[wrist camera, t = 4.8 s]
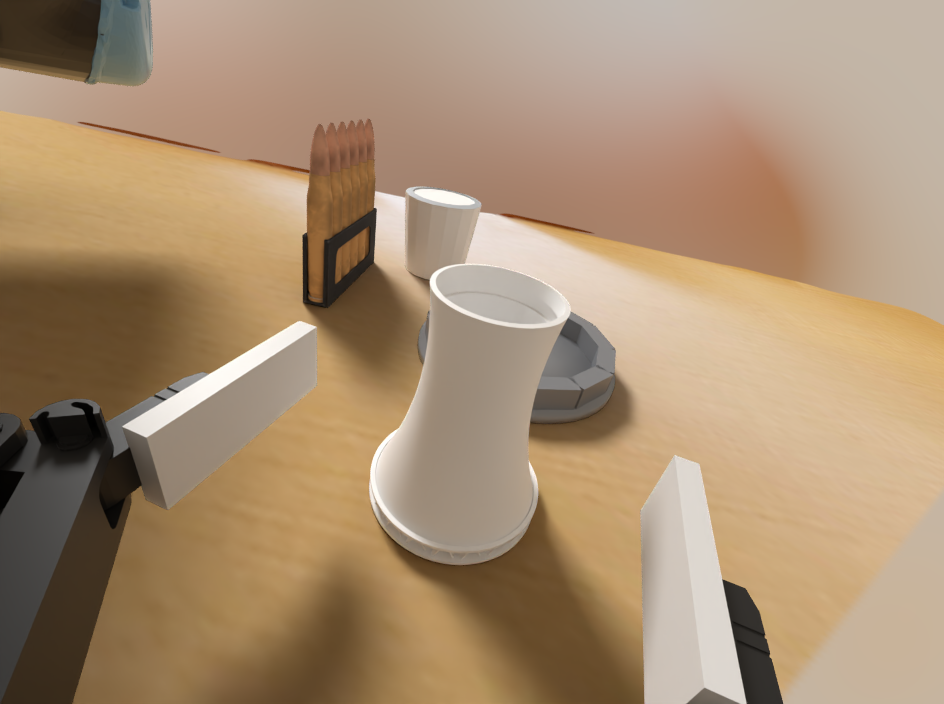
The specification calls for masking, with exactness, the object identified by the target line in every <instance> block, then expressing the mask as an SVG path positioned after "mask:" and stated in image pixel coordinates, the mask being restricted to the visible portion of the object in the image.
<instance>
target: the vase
mask: <svg viewBox="0 0 944 704" xmlns="http://www.w3.org/2000/svg"><path fill="white" fill-rule="evenodd" d="M570 312H571V308H570V305H569V303H568V301H567V300H566V298H565V297H564V296H563V295H562V294H561V293H560V292H559V291H557V290H556V289H555V288H553V287H552V286H550V285H548V284H547V283H545V282H543V281H541V280H539V279H537V278H534V277H532V276H529V275H527V274H524V273H521V272H518V271H515V270H511V269H507V268H503V267H498V266H492V265H484V264H457V265H451V266H447V267H444V268H441V269H439V270H437V271H436V272H435V273H433V275H432V276H431V278H430V320H429V333H428V342H427V349H426V355H425V361H424V365H423V370H422V374H421V377H420V381H419V384H418V387H417V391H416V394H415V396H414V399H413V401H412V404H411V406H410V408H409V410H408V412H407V414H406V416H405V418H404V420H403V422H402V424H401V425H400V427H399V428H398V429H397V430H395V431H394V432H392V433H391V434H390V435H389V436H388V437H387V438H386V439H385V440H384V441H383V442H382V443H381V445H380V446H379V448H378V449H377V451H376V453H375V455H374V458H373V461H372V465H371V473H370V484H369V494H370V501H371V505H372V508H373V511H374V514H375V516H376V518H377V520H378V521H379V523H380V525H381V526H382V527H383V529H384V530H385V531H386V532H387V534H388V535H389V536H390V537H391V538H392V539H393V540H395V541H396V542H397V543H398V544H399V545H401V546H402V547H404V548H405V549H406V550H408V551H410V552H412V553H414V554H415V555H418V556H420V557H422V558H425V559H428V560H431V561H434V562H438V563H443V564H451V565H471V564H477V563H482V562H486V561H489V560H492V559H494V558H496V557H499V556H501V555H502V554H504V553H506V552H507V551H509V550H510V549H511V548H512V547H514V546H515V545H516V544H517V543H518V542H519V541H520V539H521V538H522V537H523V535H524V534H525V532H526V530H527V528H528V526H529V524H530V521H531V518H532V517H533V514H534V512H535V509H536V506H537V501H538V484H537V479H536V476H535V473H534V470H533V468H532V466H531V464H530V462H529V457H528V438H529V426H530V418H531V413H532V408H533V403H534V399H535V395H536V391H537V388H538V384H539V381H540V378H541V375H542V372H543V370H544V367H545V365H546V362H547V359H548V357H549V355H550V353H551V350H552V348H553V346H554V344H555V342H556V340H557V338H558V336H559V334H560V332H561V330H562V328H563V326H564V324H565V322H566V321H567V319H568V317H569V315H570Z"/></svg>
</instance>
